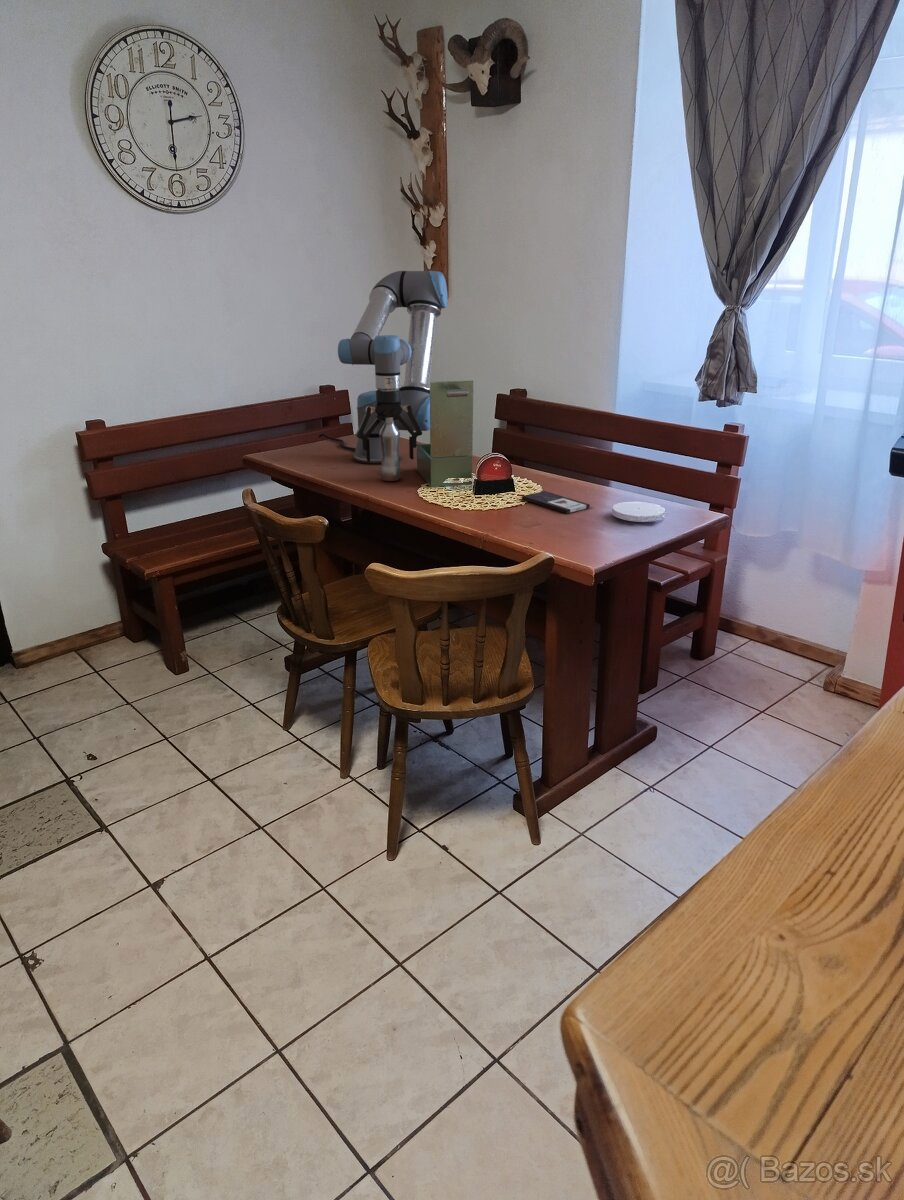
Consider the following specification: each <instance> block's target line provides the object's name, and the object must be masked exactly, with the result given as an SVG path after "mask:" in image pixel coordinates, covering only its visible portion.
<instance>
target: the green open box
mask: <svg viewBox="0 0 904 1200" xmlns="http://www.w3.org/2000/svg"><path fill="white" fill-rule="evenodd" d="M416 471H417V473H419V474H420V476H421V477H422V478H423V479H424V481H425V482H426V484H427V485H429V486H430V487H431V488H437V487H438V488H439V487H440V488H441V487H454V486H471V485H473V455H472V456H454V457H436V458H431V457H430V443H417V446H416ZM448 478H471V479H472V481H469V482H463V483H443V482H444V481H445V480H446V479H448Z"/></svg>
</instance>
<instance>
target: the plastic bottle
mask: <svg viewBox="0 0 904 1200" xmlns="http://www.w3.org/2000/svg"><path fill="white" fill-rule="evenodd" d="M383 423H384V425H383V427H382V428H381V430H380V433H379V436H380V442H381V450H382V464H380V473H379V474H380V477H381V479H382V481H386V482H394V481H398V480H400V478H401V476H402V469H401V465H400V457H399V456H400V454H399V453H400V451H399V450H400V439H401V432H400V430H398V428H397V427H396V425H395V421H394V417H385V421H383Z"/></svg>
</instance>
